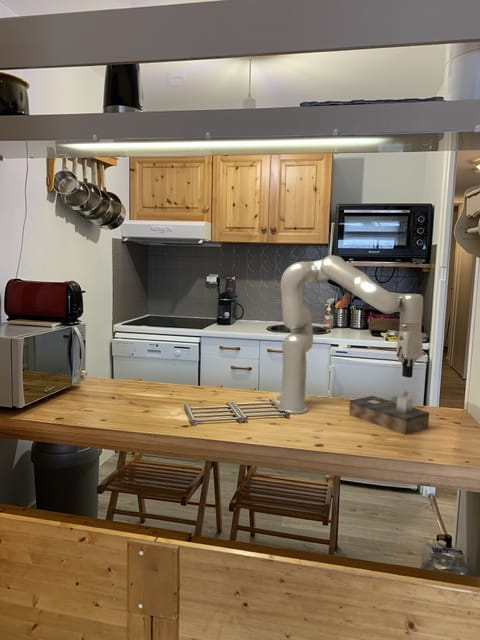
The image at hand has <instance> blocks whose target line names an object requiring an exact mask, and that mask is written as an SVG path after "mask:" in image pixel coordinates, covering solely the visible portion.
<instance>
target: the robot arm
mask: <svg viewBox="0 0 480 640" xmlns="http://www.w3.org/2000/svg"><path fill="white" fill-rule="evenodd" d="M325 280H331V281H333V282H335V283H336V284H338V285H340V286H341V287H343V288H345V289H346V290H347V291H348V292H350V293H352V294H353V295H355V296H356V297H357V298H359V299H361V300H362V301H363V302H365V303H367V304H368V305H370V306H371V307H373V308H374V309H376V310H378V311H379V312H381V313H383V314H387V315H389V314H394V313H395V312H396V313H397V312H400V316H399V328H398V329H399V331H398V336H397V342H396V343H397V344H396V352H395V353H396V358H397V359H398V360H397V362H399V363H401V366H402V376H401V377H404V378H409V379H410V378H412V377H413V373H414V372H413V371H414V370H413V369H414V366H415V362H416V361H418V359H420V358H422V357H423V349H424V348H423V345H424V344H423V341H424V339H423V333H422V322H423V307H424V296H423V295H422V294H419V293H398V292H392V291H388V290H387V289H385V288H383V287H382V286H380V285H379V284H377V283H376V282H374V281H373V280H372V279H370V277H369V276H368V274H366V273H365V272H363V271H361V270H359V269H358V268H356V267H354V265H353V266H352V265H351V264H349V263H348V262H346V261H345V260H344V259H343V258H342V257H341V256H340V255H339V256H338V255H333V254H332V255H327V256H326V257H324V258H323V259H318V260H313V261H298V262H295V263H292V264H291V265H289V266H288V267H287V268H285V270H284V272H283V274H282V276H281V279H280V293H281V294H280V295H281V308H282V309H281V310H282V321H283V324H284V326H285V328H287V329H288V330H289V331H290V334H288V335H286V337H284V339H283V341H282V347H281V348H282V349H281V350H282V379H281V394H279V395H278V396H276V400H277V401H279V403H278V404H277V406H276V409H277V410H278V411H280V412H282V411H285V412H287V413H286V414H304V413H307V412H308V411H309V406H307V405H306V404H305V400H306V383H307V382H306V379H307V352H309V351H311V348H312V347H313V343H314V334H313V332H314V331H313V319H312V314H311V311H310V309H309V308H308V307H306V305H304V295H303V294H304V293H303V291H302V286H303V284H311V283H316V282H320V281H321V282H322V281H325ZM285 412H284V413H285Z"/></svg>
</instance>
